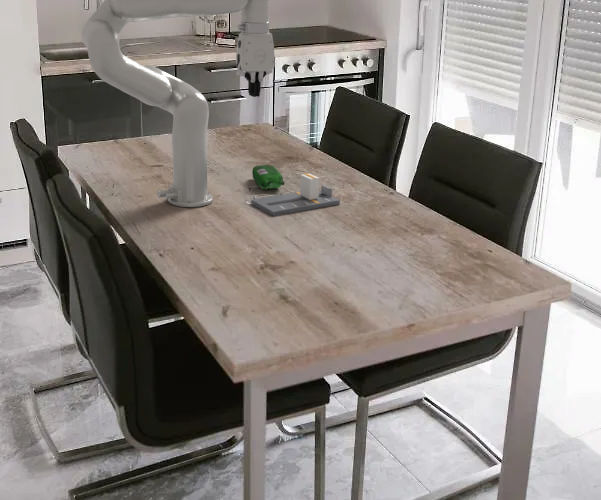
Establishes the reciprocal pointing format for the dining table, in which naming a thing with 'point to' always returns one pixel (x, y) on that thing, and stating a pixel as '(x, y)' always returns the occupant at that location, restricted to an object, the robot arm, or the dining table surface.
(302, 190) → the fader tab
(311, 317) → the dining table surface
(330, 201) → the console
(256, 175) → the snack package
